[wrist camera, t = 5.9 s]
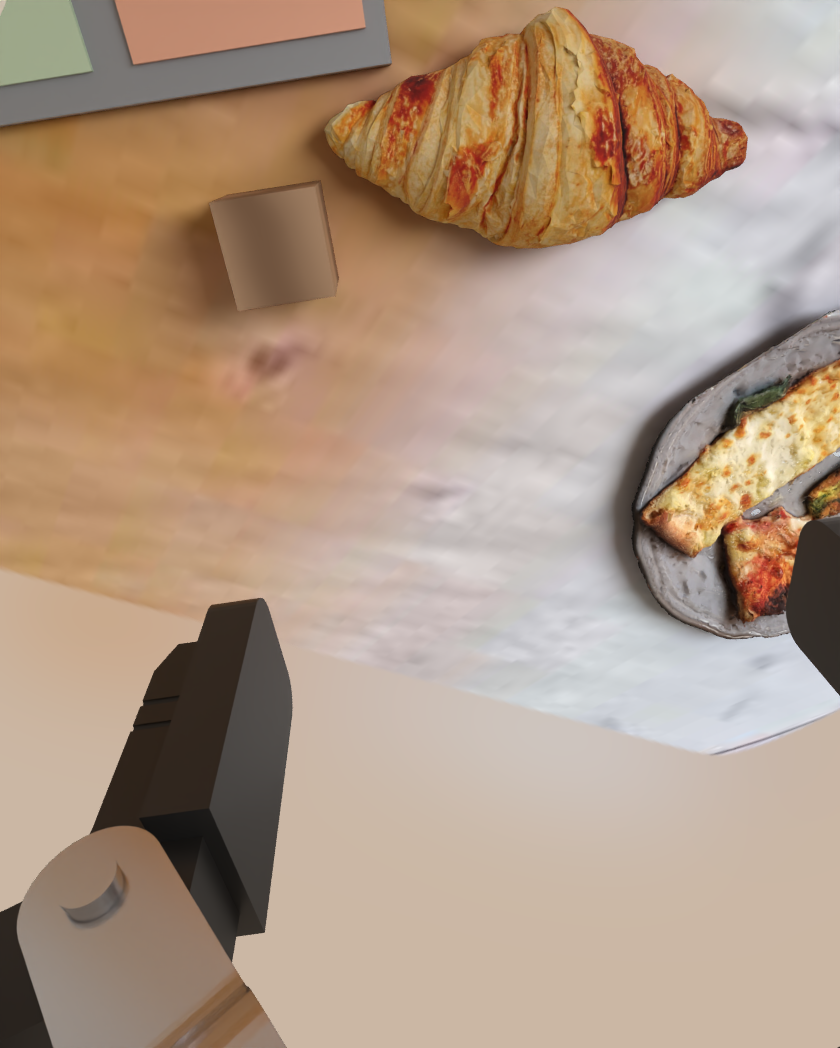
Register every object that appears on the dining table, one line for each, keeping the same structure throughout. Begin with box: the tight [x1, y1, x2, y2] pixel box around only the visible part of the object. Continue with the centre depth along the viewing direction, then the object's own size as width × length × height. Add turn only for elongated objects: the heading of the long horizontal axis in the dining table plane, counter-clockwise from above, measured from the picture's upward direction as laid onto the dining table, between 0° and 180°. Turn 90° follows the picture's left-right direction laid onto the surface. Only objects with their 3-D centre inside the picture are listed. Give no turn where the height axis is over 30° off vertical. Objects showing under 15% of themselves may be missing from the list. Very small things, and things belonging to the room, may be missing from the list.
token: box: [209, 180, 339, 311], centre depth 35 cm, size 5×5×5 cm
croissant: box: [324, 7, 748, 248], centre depth 33 cm, size 21×10×8 cm, turn 89°
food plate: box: [631, 310, 840, 639], centre depth 46 cm, size 25×23×4 cm
